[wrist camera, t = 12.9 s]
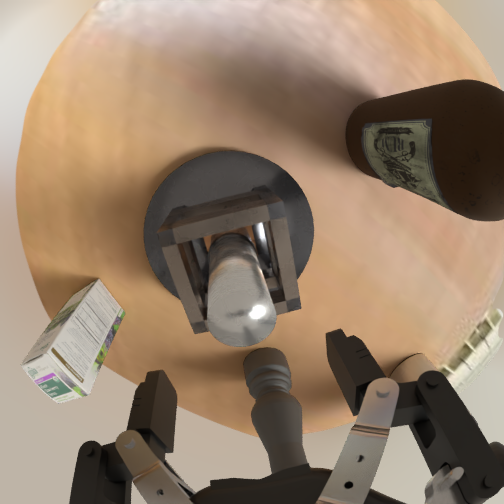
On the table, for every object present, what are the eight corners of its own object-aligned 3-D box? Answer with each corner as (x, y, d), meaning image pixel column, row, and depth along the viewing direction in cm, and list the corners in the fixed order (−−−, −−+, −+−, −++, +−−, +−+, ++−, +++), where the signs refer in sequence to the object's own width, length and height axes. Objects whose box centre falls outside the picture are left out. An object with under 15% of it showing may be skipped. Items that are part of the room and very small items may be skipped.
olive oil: (391, 84, 25) (583, 71, 2) (423, 161, 29) (597, 218, 6) (323, 116, 26) (555, 102, 3) (363, 198, 30) (551, 309, 7)
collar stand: (294, 135, 27) (328, 132, 18) (318, 285, 34) (348, 331, 25) (126, 178, 26) (88, 194, 18) (177, 319, 33) (168, 374, 25)
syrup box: (97, 327, 33) (60, 408, 19) (70, 293, 30) (18, 367, 17) (126, 312, 32) (91, 399, 19) (98, 275, 30) (44, 352, 17)
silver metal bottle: (256, 226, 29) (289, 297, 16) (244, 263, 30) (264, 353, 17) (215, 214, 28) (215, 280, 15) (204, 253, 29) (197, 341, 16)
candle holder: (235, 371, 38) (258, 537, 15) (256, 342, 36) (298, 525, 13) (272, 381, 40) (310, 532, 17) (294, 354, 38) (351, 515, 15)
